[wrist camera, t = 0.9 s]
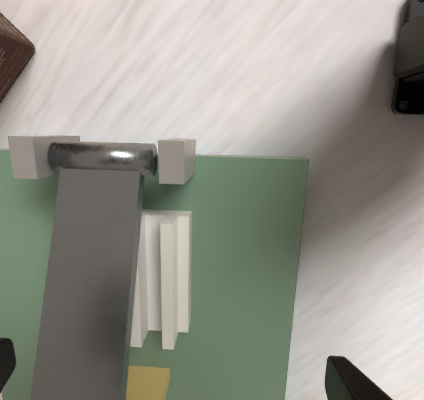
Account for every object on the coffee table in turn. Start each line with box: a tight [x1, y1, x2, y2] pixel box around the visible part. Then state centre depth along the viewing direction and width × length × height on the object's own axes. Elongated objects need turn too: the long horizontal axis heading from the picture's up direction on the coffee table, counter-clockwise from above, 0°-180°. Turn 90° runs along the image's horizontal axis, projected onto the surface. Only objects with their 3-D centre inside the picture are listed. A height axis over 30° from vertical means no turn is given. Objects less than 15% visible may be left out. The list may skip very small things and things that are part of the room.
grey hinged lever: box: [30, 141, 158, 400], centre depth 13 cm, size 5×16×2 cm, turn 179°
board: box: [0, 136, 309, 400], centre depth 18 cm, size 22×21×6 cm
